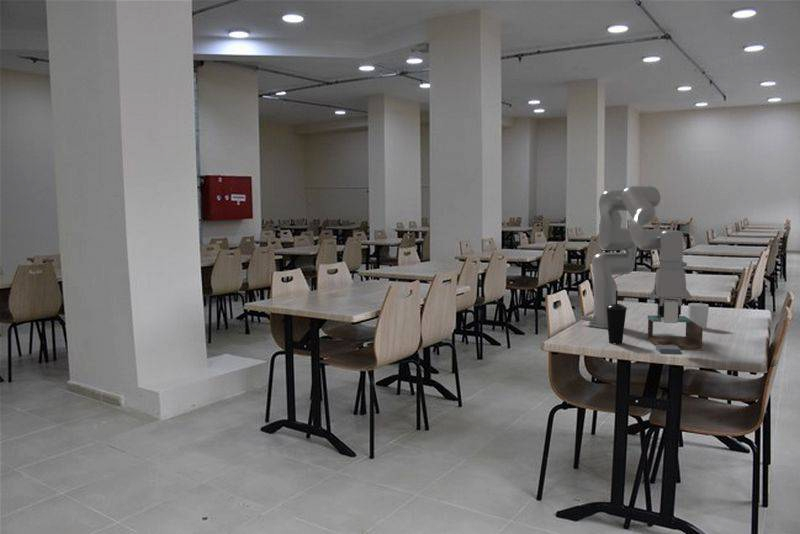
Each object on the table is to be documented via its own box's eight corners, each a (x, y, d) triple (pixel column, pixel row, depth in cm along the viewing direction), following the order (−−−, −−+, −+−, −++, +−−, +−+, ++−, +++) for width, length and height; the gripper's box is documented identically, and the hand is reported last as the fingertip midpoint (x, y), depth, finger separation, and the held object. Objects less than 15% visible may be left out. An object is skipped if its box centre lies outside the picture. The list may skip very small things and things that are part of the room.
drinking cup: (609, 339, 257) (610, 288, 255) (629, 342, 252) (630, 290, 250) (601, 343, 251) (602, 290, 249) (621, 345, 246) (623, 292, 244)
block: (664, 322, 233) (664, 301, 233) (661, 320, 238) (661, 300, 237) (677, 323, 233) (678, 301, 232) (674, 321, 237) (675, 300, 236)
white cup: (710, 330, 275) (710, 306, 274) (689, 329, 277) (690, 305, 276) (705, 326, 283) (706, 303, 282) (685, 326, 285) (686, 302, 284)
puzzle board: (658, 348, 241) (658, 326, 240) (647, 338, 258) (648, 318, 258) (701, 349, 238) (702, 327, 238) (688, 339, 256) (688, 319, 255)
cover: (652, 321, 250) (652, 306, 250) (647, 317, 259) (648, 302, 258) (690, 322, 248) (691, 306, 248) (684, 318, 257) (685, 303, 256)
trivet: (659, 352, 234) (659, 348, 234) (655, 349, 240) (656, 345, 240) (680, 353, 233) (680, 349, 233) (676, 349, 239) (676, 345, 239)
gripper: (693, 264, 236) (691, 315, 237) (643, 264, 238) (642, 314, 240) (699, 266, 228) (697, 319, 230) (648, 266, 231) (646, 318, 233)
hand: (669, 316), depth 235 cm, fingers closed on block, 4 cm apart
